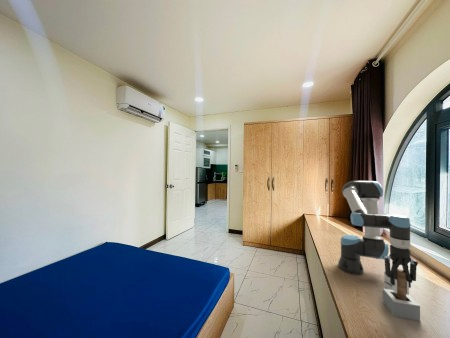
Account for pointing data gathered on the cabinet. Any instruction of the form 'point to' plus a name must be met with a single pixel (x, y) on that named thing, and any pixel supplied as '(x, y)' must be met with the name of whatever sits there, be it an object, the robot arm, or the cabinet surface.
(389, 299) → the socket block
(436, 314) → the cabinet surface
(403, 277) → the walnut dowel
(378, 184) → the robot arm
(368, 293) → the cabinet surface
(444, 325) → the cabinet surface
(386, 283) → the ink box
